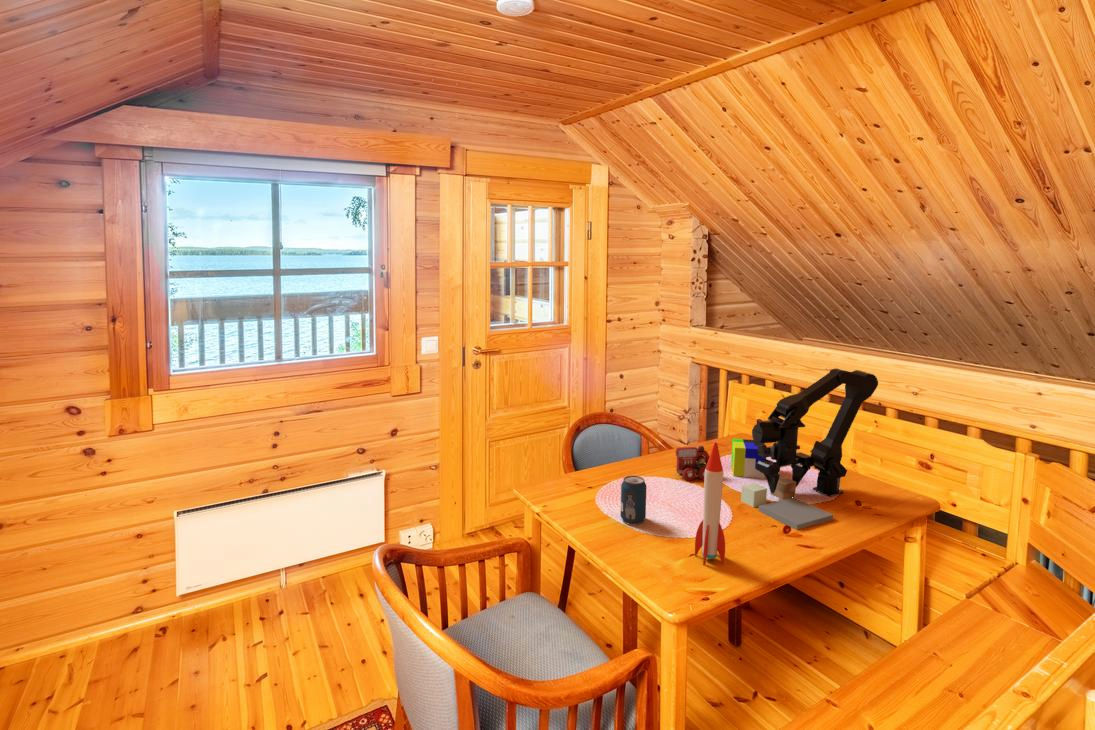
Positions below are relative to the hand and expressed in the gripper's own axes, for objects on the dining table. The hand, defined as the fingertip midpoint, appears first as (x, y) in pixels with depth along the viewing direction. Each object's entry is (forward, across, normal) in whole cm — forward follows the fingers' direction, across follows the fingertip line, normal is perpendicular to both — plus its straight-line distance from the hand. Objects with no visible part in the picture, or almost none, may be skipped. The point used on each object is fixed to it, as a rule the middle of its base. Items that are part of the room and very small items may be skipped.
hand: (783, 490), depth 195 cm
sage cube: (+2, +12, 0) cm, 12 cm away
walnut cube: (+2, 0, 0) cm, 2 cm away
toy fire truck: (+2, +14, -25) cm, 29 cm away
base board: (+2, +8, +12) cm, 15 cm away
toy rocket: (+2, +47, +21) cm, 52 cm away
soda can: (+2, +51, -6) cm, 51 cm away
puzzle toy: (+2, -5, -20) cm, 21 cm away
